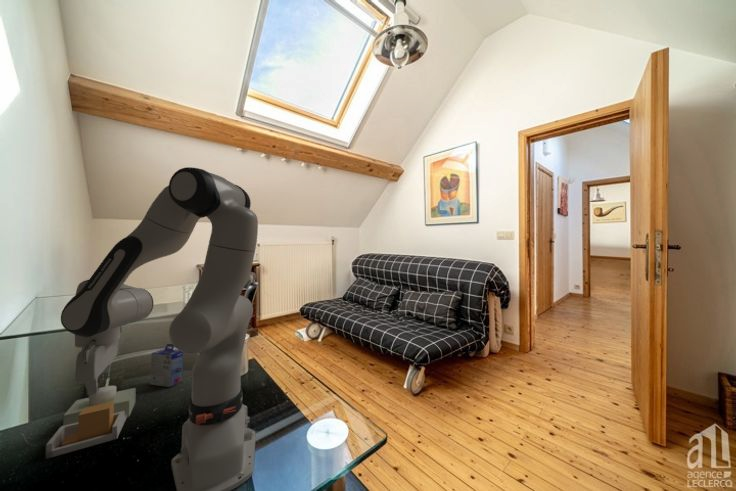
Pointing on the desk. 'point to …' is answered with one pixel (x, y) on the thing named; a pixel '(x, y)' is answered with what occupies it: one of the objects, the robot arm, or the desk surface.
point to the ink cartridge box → (166, 367)
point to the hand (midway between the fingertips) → (99, 385)
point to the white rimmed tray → (121, 399)
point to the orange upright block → (93, 423)
